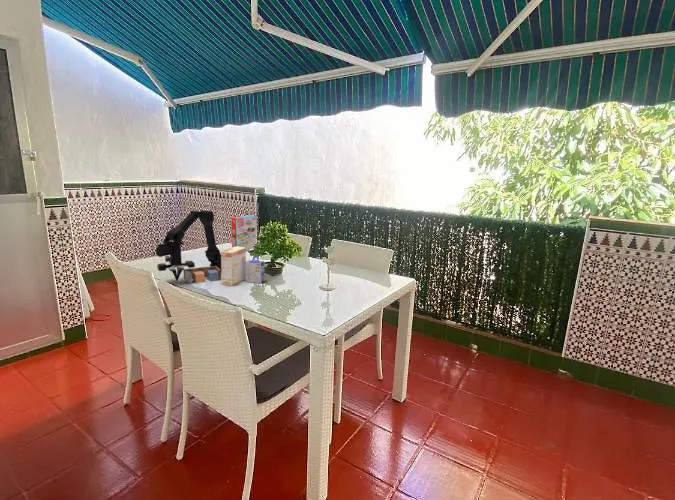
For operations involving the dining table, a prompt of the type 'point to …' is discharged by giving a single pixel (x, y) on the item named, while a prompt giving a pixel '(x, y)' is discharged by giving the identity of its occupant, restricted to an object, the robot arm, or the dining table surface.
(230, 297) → the dining table surface
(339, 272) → the dining table surface
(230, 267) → the coffeecake box
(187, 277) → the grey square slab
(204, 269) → the shelf
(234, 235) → the game box
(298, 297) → the dining table surface
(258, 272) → the ink cartridge box
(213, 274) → the blue-grey plain cube block
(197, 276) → the salmon rectangular block
